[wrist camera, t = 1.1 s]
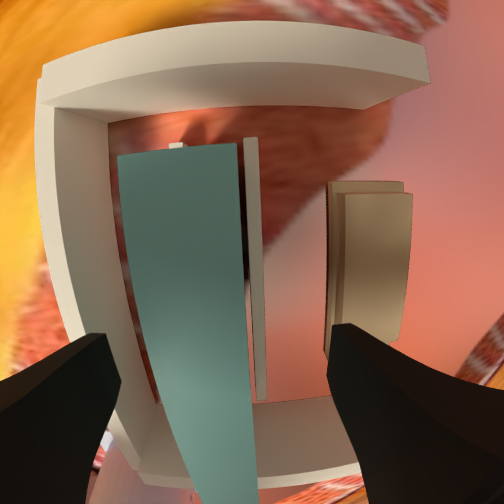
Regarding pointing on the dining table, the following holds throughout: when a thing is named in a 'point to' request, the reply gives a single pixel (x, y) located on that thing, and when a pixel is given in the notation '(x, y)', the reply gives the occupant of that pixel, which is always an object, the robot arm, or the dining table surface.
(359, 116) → the dining table surface
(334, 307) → the block
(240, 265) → the teal panel
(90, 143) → the rack
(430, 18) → the dining table surface
